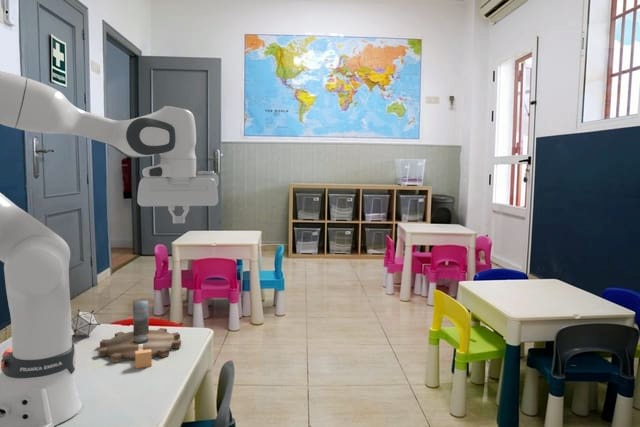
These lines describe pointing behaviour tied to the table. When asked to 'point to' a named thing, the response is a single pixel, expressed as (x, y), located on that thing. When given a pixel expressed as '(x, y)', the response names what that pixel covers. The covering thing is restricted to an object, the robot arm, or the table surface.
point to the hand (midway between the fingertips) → (178, 223)
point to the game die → (83, 323)
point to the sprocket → (139, 338)
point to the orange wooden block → (143, 358)
